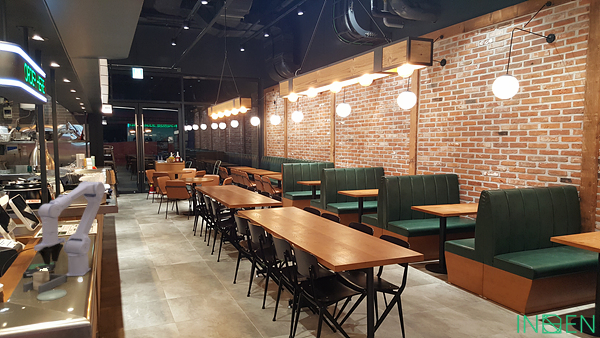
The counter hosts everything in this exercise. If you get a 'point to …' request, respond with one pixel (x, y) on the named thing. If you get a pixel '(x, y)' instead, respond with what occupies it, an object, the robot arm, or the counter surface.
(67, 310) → the counter surface
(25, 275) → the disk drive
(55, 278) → the slot rack
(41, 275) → the maple block
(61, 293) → the saucer
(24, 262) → the counter surface
